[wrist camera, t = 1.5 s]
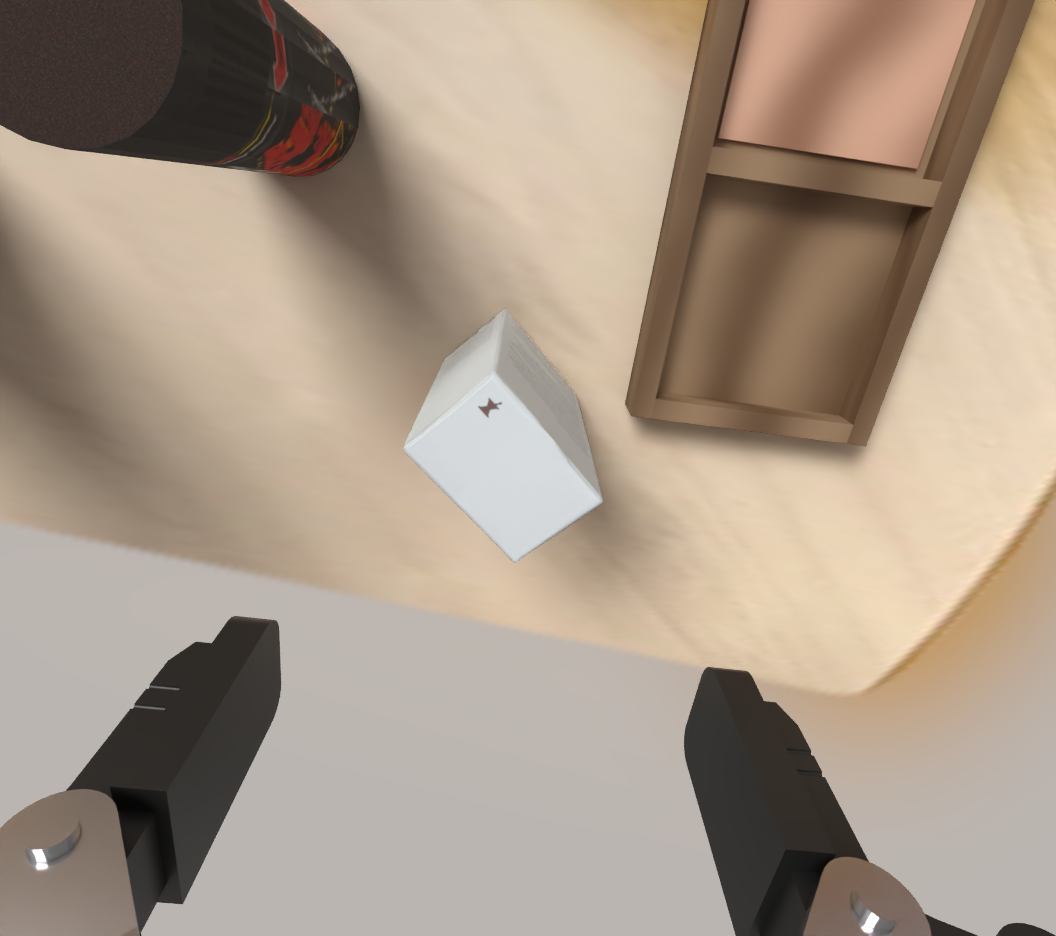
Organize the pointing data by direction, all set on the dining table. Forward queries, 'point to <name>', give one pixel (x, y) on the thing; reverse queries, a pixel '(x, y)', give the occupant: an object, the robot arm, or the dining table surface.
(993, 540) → the dining table surface
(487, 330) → the skincare box
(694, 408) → the two-section desk tray
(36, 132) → the deodorant
